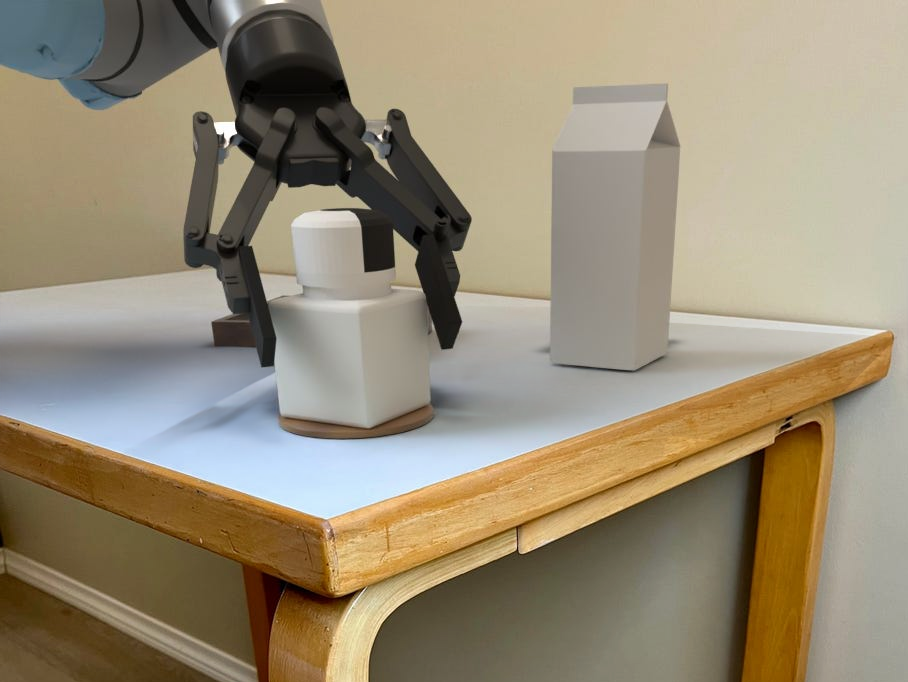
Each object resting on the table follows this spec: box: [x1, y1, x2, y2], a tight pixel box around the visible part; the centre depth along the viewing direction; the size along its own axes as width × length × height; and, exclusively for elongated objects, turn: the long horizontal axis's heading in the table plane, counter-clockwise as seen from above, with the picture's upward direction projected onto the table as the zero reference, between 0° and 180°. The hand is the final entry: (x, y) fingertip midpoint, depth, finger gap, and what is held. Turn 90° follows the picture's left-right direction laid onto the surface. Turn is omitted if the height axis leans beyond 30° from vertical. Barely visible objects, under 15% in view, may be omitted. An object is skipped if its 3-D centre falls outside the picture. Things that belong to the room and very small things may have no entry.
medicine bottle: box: [268, 207, 432, 429], centre depth 62 cm, size 7×7×12 cm
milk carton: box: [549, 82, 681, 371], centre depth 75 cm, size 7×7×19 cm
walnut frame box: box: [211, 295, 433, 348], centre depth 88 cm, size 15×15×3 cm
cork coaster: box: [277, 403, 435, 440], centre depth 65 cm, size 10×10×1 cm
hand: (363, 344), depth 60 cm, fingers open, 11 cm apart
